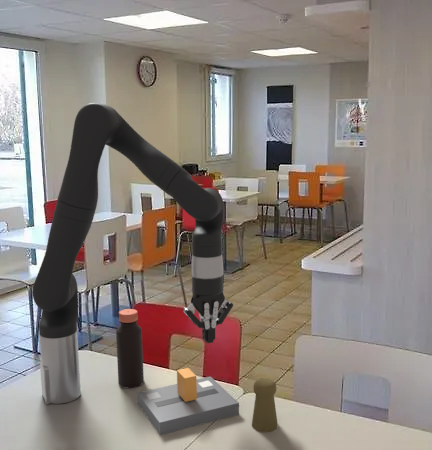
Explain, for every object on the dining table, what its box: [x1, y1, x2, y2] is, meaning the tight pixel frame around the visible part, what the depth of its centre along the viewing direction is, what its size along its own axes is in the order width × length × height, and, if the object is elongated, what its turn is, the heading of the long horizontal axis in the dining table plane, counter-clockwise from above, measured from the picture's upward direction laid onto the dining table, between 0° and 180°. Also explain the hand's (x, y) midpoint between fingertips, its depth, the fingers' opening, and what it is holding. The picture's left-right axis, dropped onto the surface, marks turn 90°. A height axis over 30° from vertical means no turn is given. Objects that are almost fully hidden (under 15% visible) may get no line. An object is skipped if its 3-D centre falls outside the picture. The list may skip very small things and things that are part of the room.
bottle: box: [115, 308, 145, 389], centre depth 151 cm, size 7×7×20 cm
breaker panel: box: [136, 376, 240, 436], centre depth 139 cm, size 20×16×3 cm
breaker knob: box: [176, 367, 197, 402], centre depth 138 cm, size 3×5×6 cm, turn 26°
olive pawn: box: [251, 377, 279, 433], centre depth 130 cm, size 6×6×11 cm
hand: (208, 341), depth 138 cm, fingers closed
